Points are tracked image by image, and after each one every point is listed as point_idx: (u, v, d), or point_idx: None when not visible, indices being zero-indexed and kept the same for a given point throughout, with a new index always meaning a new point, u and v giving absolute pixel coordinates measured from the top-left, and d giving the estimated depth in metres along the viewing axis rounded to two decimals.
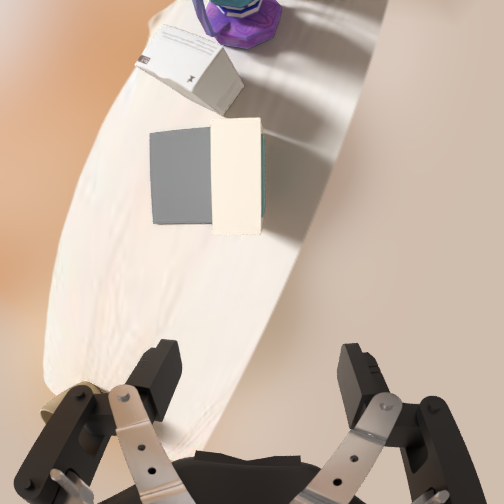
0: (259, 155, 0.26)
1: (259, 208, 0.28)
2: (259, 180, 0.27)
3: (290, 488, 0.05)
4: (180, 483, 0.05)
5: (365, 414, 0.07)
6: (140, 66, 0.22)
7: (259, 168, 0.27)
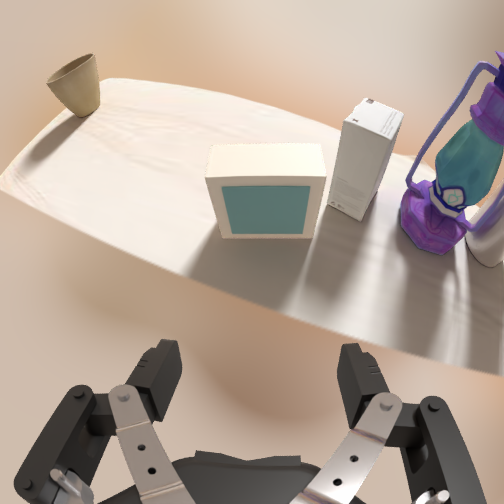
0: (286, 174, 0.26)
1: (231, 175, 0.27)
2: (260, 174, 0.26)
3: (290, 488, 0.05)
4: (180, 483, 0.05)
5: (365, 414, 0.07)
6: (363, 99, 0.29)
7: (273, 174, 0.26)
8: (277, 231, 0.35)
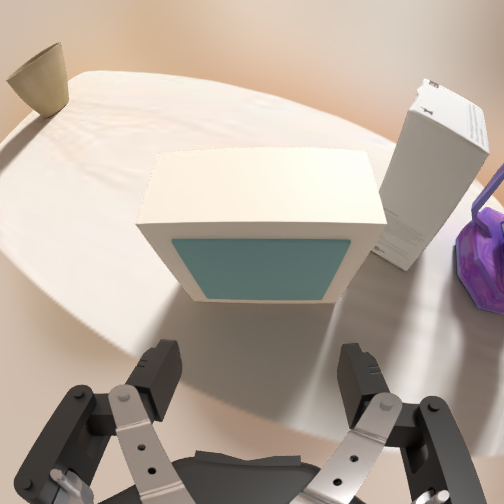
0: (305, 219, 0.12)
1: (187, 219, 0.13)
2: (248, 219, 0.12)
3: (290, 488, 0.05)
4: (180, 483, 0.05)
5: (365, 414, 0.07)
6: (424, 80, 0.15)
7: (276, 218, 0.12)
8: (280, 298, 0.21)
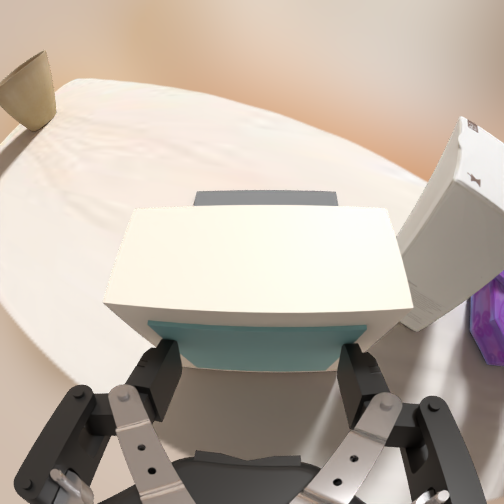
0: (313, 309, 0.09)
1: (163, 304, 0.10)
2: (240, 308, 0.09)
3: (290, 488, 0.05)
4: (180, 483, 0.05)
5: (365, 414, 0.07)
6: (461, 120, 0.12)
7: (275, 309, 0.09)
8: (279, 370, 0.17)
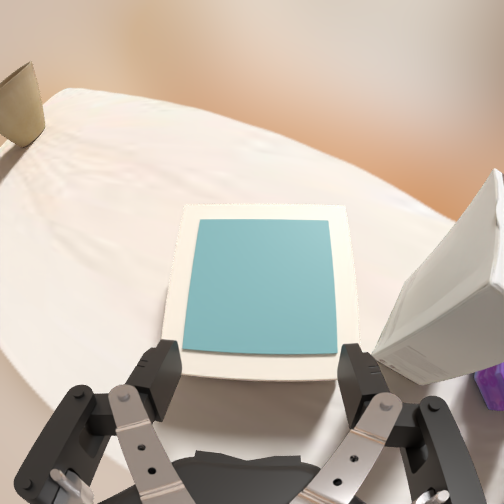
0: (292, 205, 0.20)
1: None
2: None
3: (290, 488, 0.05)
4: (180, 483, 0.05)
5: (365, 414, 0.07)
6: (496, 176, 0.09)
7: None
8: (281, 344, 0.15)
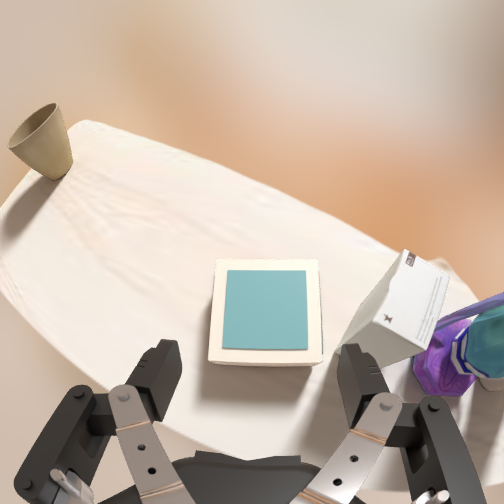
0: (284, 259, 0.33)
1: (239, 259, 0.33)
2: (263, 259, 0.33)
3: (290, 488, 0.05)
4: (180, 483, 0.05)
5: (365, 414, 0.07)
6: (402, 256, 0.22)
7: (273, 259, 0.33)
8: (277, 343, 0.28)
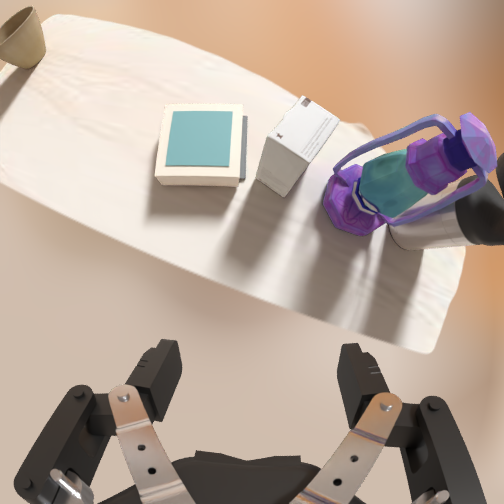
0: (217, 104, 0.37)
1: (182, 104, 0.37)
2: None
3: (290, 488, 0.05)
4: (180, 483, 0.05)
5: (365, 414, 0.07)
6: (299, 99, 0.29)
7: None
8: (206, 161, 0.37)
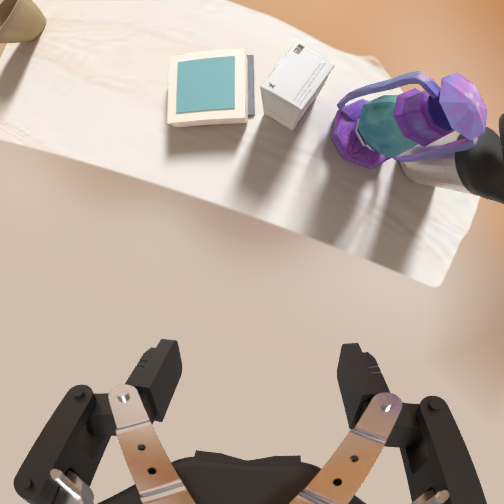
0: None
1: (186, 54, 0.34)
2: (203, 51, 0.34)
3: (290, 488, 0.05)
4: (180, 483, 0.05)
5: (365, 414, 0.07)
6: (292, 46, 0.26)
7: (211, 50, 0.34)
8: (212, 106, 0.37)
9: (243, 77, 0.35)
